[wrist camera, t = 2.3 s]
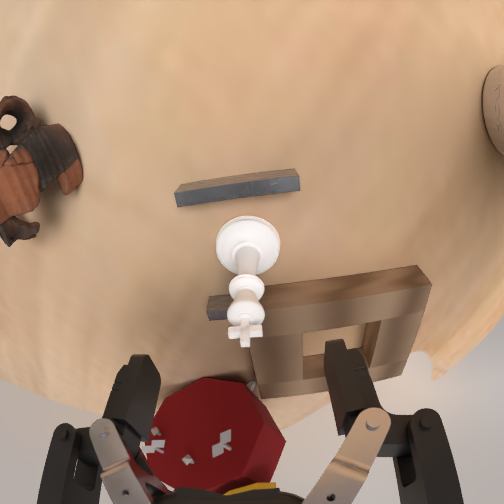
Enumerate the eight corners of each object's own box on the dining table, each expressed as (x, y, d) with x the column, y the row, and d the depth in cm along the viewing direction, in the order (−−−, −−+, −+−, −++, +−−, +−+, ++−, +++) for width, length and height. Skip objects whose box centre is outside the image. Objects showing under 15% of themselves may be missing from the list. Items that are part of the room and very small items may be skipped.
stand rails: (294, 168, 19) (298, 175, 17) (302, 295, 24) (306, 310, 22) (181, 184, 19) (174, 192, 18) (212, 305, 25) (209, 320, 23)
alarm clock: (182, 408, 34) (164, 536, 17) (143, 375, 31) (107, 522, 13) (282, 388, 31) (292, 544, 14) (252, 348, 28) (252, 548, 10)
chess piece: (210, 218, 21) (182, 309, 12) (277, 212, 20) (296, 300, 12) (221, 274, 23) (206, 375, 14) (281, 269, 23) (296, 369, 14)
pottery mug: (100, 211, 21) (26, 274, 15) (54, 188, 24) (-4, 234, 18) (69, 70, 12) (-40, 124, 7) (27, 83, 15) (-46, 125, 10)
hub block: (417, 265, 23) (431, 283, 20) (393, 356, 29) (401, 375, 26) (242, 288, 24) (241, 312, 21) (260, 377, 30) (261, 398, 27)
